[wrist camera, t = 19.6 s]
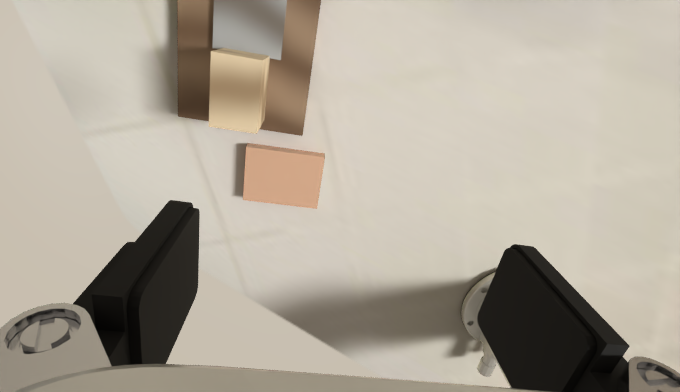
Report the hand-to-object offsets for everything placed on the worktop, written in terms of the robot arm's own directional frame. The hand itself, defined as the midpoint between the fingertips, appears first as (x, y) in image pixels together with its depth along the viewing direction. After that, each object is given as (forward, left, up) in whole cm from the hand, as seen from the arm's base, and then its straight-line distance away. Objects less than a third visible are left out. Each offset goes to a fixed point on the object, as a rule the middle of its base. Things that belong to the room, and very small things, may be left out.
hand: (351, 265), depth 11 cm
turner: (+3, +8, -27) cm, 28 cm away
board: (+3, +8, -28) cm, 30 cm away
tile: (-9, -1, -28) cm, 29 cm away
